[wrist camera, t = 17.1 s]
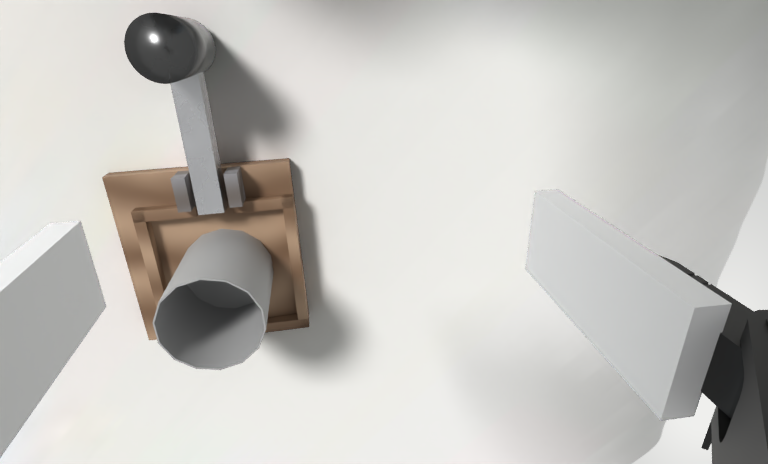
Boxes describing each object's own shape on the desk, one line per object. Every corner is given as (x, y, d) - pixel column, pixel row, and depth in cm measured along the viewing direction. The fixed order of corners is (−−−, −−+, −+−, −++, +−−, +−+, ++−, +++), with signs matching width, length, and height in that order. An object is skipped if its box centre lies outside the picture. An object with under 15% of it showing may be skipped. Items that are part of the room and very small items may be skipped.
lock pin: (153, 18, 38) (116, 14, 30) (210, 16, 38) (187, 11, 31) (193, 204, 44) (170, 237, 36) (241, 199, 44) (229, 232, 37)
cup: (175, 233, 44) (141, 285, 35) (265, 224, 45) (256, 272, 36) (194, 310, 47) (167, 377, 38) (278, 300, 48) (271, 362, 39)
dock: (108, 173, 42) (90, 185, 39) (289, 158, 44) (287, 169, 41) (153, 331, 49) (141, 355, 45) (308, 312, 51) (309, 334, 47)
